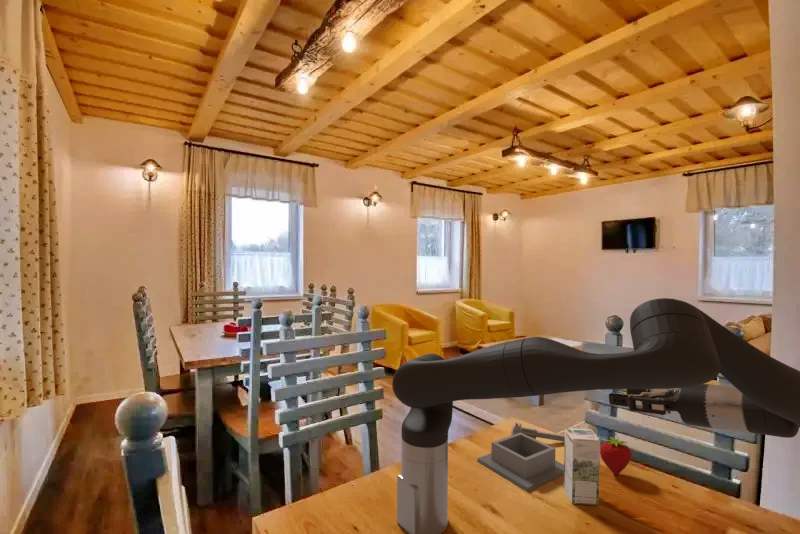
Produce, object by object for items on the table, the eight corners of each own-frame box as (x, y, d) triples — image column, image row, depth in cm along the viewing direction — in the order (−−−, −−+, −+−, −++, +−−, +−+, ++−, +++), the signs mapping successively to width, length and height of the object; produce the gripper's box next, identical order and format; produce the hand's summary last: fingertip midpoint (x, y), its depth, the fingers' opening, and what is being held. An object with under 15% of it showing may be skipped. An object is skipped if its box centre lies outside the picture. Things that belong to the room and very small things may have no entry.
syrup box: (589, 490, 91) (590, 427, 91) (599, 506, 85) (600, 439, 85) (563, 489, 92) (564, 426, 91) (571, 505, 86) (572, 438, 85)
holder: (527, 491, 91) (527, 468, 91) (477, 461, 104) (477, 441, 104) (570, 471, 99) (570, 449, 99) (519, 445, 113) (519, 427, 113)
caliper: (512, 445, 114) (512, 423, 113) (510, 443, 115) (511, 422, 114) (582, 443, 115) (582, 422, 115) (580, 442, 116) (580, 420, 116)
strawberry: (593, 469, 100) (593, 429, 100) (619, 466, 102) (620, 427, 101) (610, 482, 94) (610, 440, 94) (637, 479, 96) (638, 437, 96)
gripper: (705, 437, 66) (604, 420, 78) (728, 421, 75) (634, 408, 87) (699, 390, 67) (601, 380, 79) (722, 380, 76) (631, 373, 88)
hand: (618, 395), depth 83 cm, fingers open, 8 cm apart
